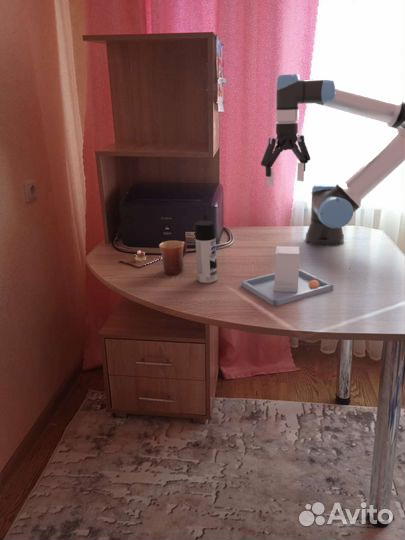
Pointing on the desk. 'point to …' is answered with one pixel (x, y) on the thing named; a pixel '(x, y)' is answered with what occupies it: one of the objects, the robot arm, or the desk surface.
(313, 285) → the ball
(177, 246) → the mug
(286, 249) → the supplement box
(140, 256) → the dessert
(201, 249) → the spray can
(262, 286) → the tray
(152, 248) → the desk surface
